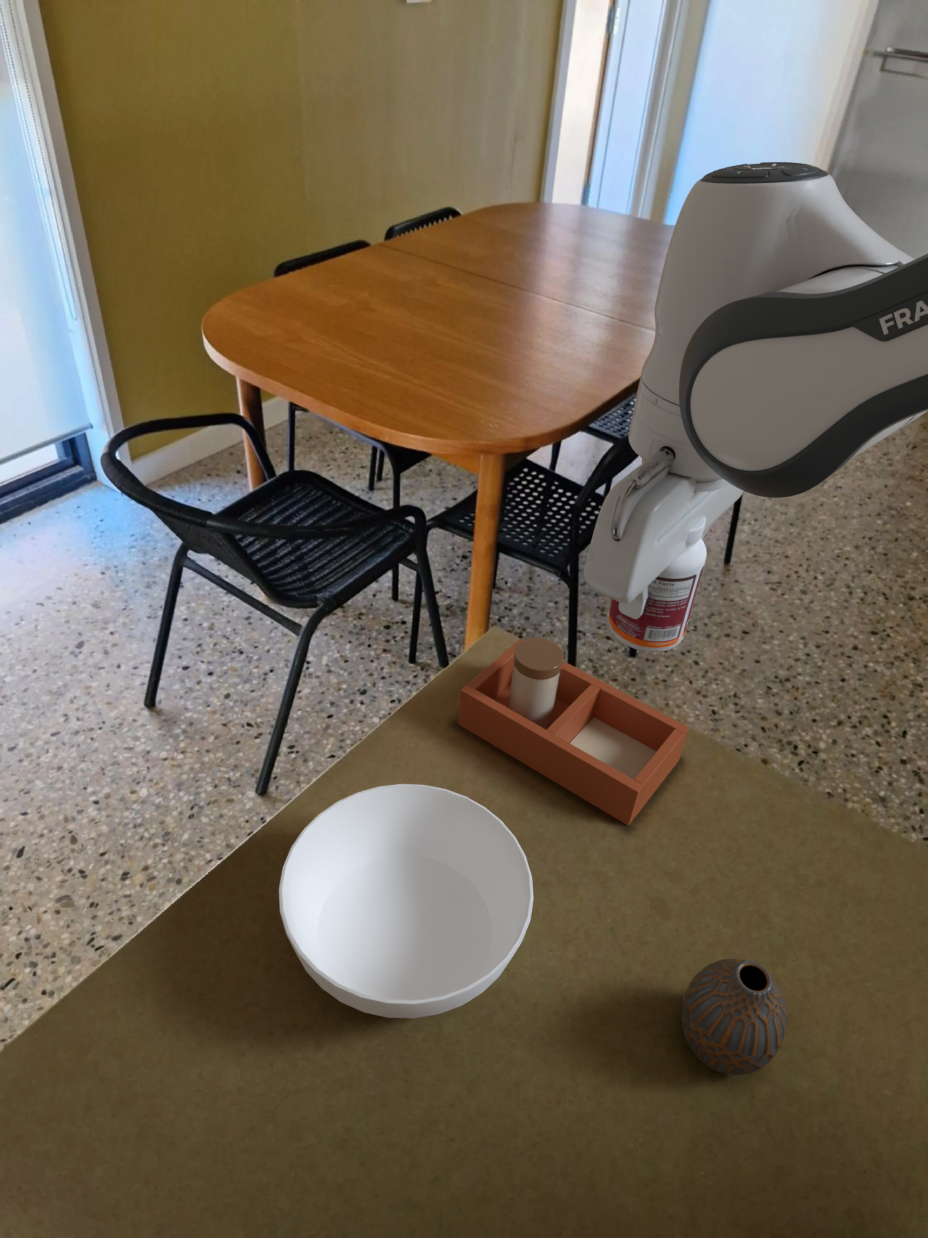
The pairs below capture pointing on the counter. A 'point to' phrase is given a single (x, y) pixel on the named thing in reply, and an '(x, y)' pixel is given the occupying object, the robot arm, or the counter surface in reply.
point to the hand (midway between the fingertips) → (655, 588)
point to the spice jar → (535, 679)
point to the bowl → (405, 899)
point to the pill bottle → (665, 601)
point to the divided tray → (579, 736)
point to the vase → (734, 1016)
